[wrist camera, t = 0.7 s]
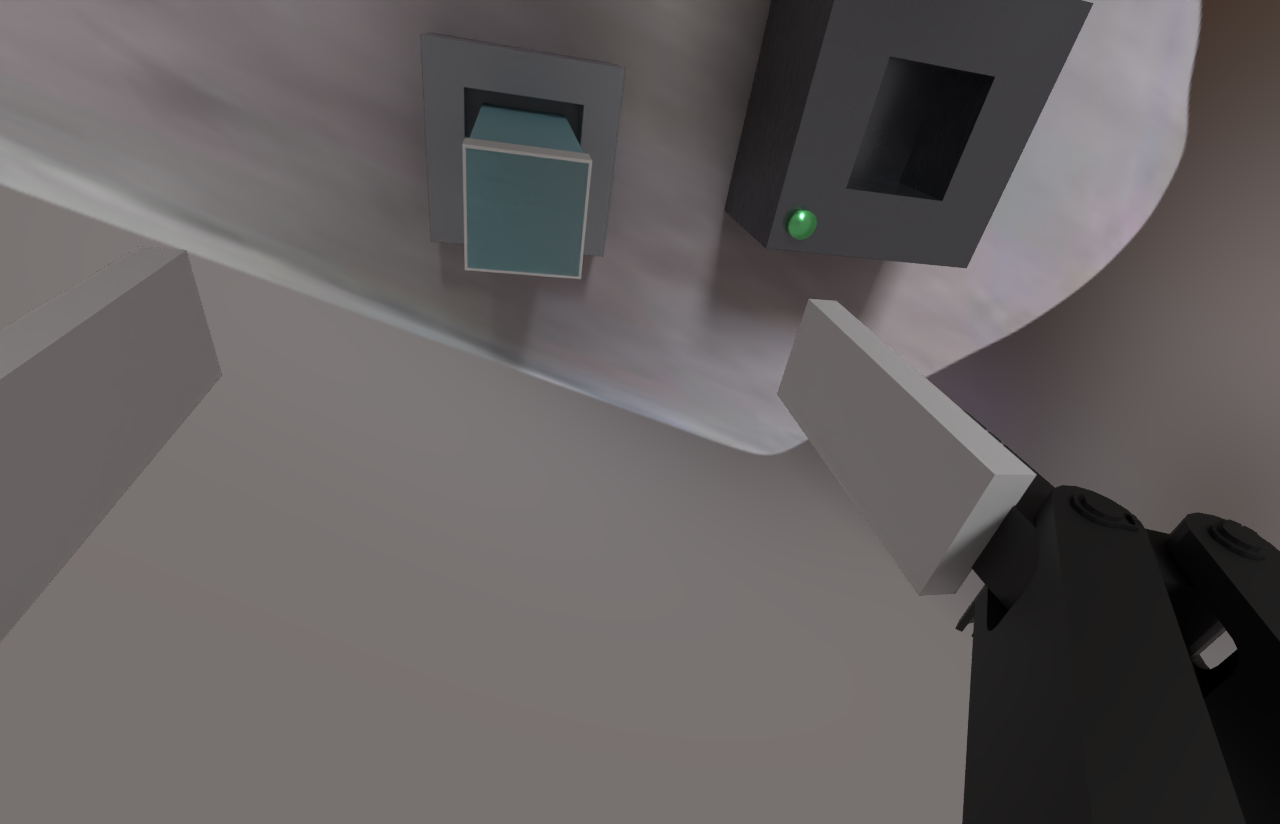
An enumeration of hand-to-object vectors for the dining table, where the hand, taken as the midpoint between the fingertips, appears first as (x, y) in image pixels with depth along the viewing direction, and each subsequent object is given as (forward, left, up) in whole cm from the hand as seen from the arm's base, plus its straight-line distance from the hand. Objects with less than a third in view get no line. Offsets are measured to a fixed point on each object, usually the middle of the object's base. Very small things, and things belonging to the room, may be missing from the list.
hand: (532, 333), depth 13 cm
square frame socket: (0, 0, -22) cm, 22 cm away
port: (-4, +18, -22) cm, 29 cm away
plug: (0, 0, -21) cm, 21 cm away
